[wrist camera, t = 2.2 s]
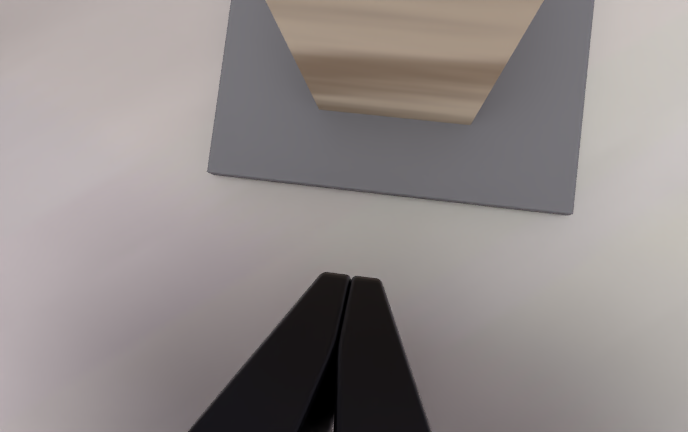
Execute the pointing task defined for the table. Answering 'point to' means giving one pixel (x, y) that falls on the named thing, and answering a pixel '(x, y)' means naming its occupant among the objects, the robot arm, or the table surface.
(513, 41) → the maple block
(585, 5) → the rubber mat
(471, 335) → the table surface
